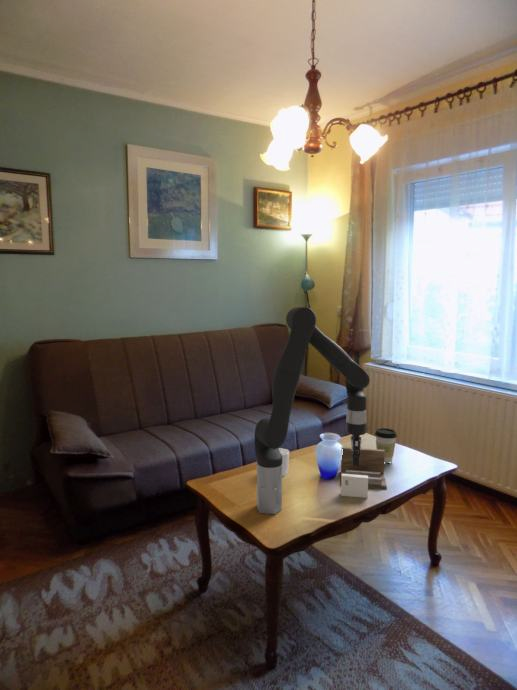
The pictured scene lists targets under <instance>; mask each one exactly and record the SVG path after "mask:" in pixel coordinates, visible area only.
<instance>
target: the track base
mask: <svg viewBox="0 0 517 690" xmlns="http://www.w3.org/2000/svg"><path fill="white" fill-rule="evenodd" d="M342 449H343V455H342V460H341V459H340V479H341V478H342V474H354V475H367V476H368V489H381V490H387V489H388V486H387V481H386V477H385V472H384V470H385V464H384V455H385V450H377V448H376V449H373V448H362V447H361V450H360V457H359V466H353V457H352V450H351V447H346V446H341V450H342Z"/></svg>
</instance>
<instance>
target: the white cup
mask: <svg viewBox="0 0 517 690" xmlns="http://www.w3.org/2000/svg"><path fill="white" fill-rule="evenodd" d="M278 449H279V451H280V453H281V455H282V477H286V476H287V475H288V474H289V464H290V450H289V449H287V448H282V447H279V448H278Z"/></svg>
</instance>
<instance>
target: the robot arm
mask: <svg viewBox="0 0 517 690" xmlns="http://www.w3.org/2000/svg"><path fill="white" fill-rule="evenodd" d="M285 320H286V321H285V323H286V325H287V327H288V328H289V329H290V333H289V337H288V341H287V343H286V346H285V348H284V350H283V351H282V353H281V355H280V357H279V358H278V361H277V363H276V367H275V370H274V373H273V376H272V380H271V393H272V408H271V409H272V410H271V414H270V417H264V418H262V419H260V420H259V421H258V422H257V423H256V425H255V428H254V453H255V456H256V509H257V511H258V513H259V514H265V515H266V514H269V515H277V513H279V512H280V511H281V510H282V508H283V476H282V455H281V453H280V451H279V449H278V448H281V447H282V445H283V444H284V443H285V442H286V439H287V434H288V431H289V423H290V418H291V413H292V407H293V405H294V401H295V396H296V393H297V388H298V385H299V381H300V379H301V374H302V370H303V366H304V362H305V358H306V353H307V349H308V346H309V344H310V345H311V346H312V347H313V348H314V349H315V351H317V352H318V353H319V354H320V356H321V357H323V358H324V359H325V360H326V362H328V363H329V364H330V365H331V367H332V368H334V370H336V371H337V372H339V373H340V374H341V375H343V377H345V378H344V379H345V380H344V381H345V390H346V396H347V403H346V405H347V407H346V408H347V409H346V417H345V418H346V419H345V422H346V423H345V431H346V434H348V435H350V445H351V447H350V448H351V450H352V457H353V466H359V457H360V450H361V448H362V447H361V446H362V445H361V444H362V436H363V435H365V434H366V433H367V420H368V419H367V418H368V417H367V396H366V394H365V393H364V389H366V388H367V387H368V386H369V385H370V375H369V374H368V372H367V371H366V370H365V369H364V368H363V367H361V366H360V365H359V364H358V363H357V362H356V361H354V360H353V359H352V357H351V356H350V355H349V354H348V353H347V352H346V351H345V350H344V349H343V348H342V347H341V346H340V345H338V343H336V342H335V341H333V340H332V339H331V338H330V337H328V336H327V335H325V333H323V331H321V330H320V328H318V327H317V326H316V324H317V316H316V313H315V311H314V309H312V308H310V307H307V306H299V307H293V308H292V309H290V310H289V311H288V312H287V314H286V318H285Z"/></svg>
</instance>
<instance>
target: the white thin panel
mask: <svg viewBox="0 0 517 690" xmlns="http://www.w3.org/2000/svg"><path fill="white" fill-rule="evenodd" d="M340 486H341V487H340V488H341V489H340V496H342V497H352V498H353V497H354V498H363V499H366V498H368V495H369V494H368V493H369V488H368V476H367V475H354V474H342V478H341V477H340Z"/></svg>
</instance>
